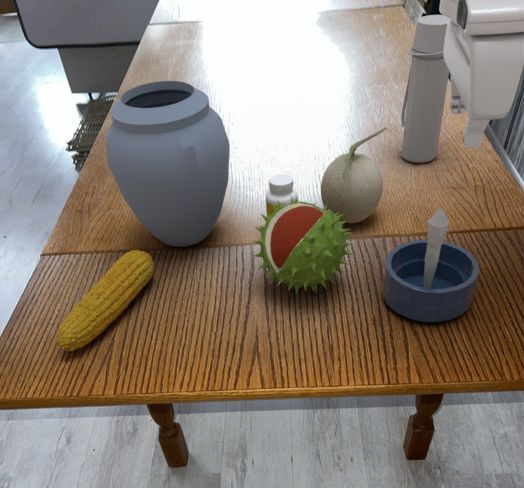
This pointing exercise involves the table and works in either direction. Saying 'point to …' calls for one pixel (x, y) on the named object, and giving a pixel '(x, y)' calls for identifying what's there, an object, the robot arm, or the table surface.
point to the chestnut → (302, 244)
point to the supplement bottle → (280, 192)
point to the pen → (434, 244)
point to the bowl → (443, 287)
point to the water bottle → (425, 90)
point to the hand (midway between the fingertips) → (463, 127)
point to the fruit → (352, 185)
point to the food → (106, 300)
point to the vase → (169, 159)
